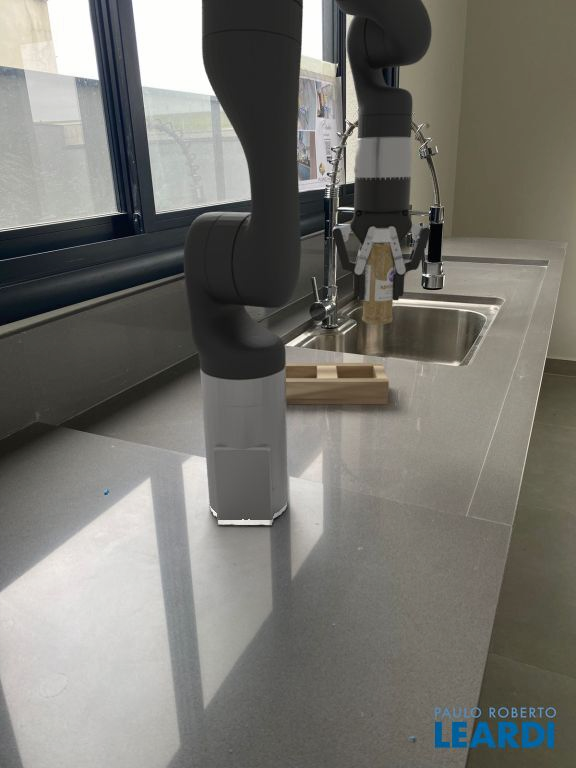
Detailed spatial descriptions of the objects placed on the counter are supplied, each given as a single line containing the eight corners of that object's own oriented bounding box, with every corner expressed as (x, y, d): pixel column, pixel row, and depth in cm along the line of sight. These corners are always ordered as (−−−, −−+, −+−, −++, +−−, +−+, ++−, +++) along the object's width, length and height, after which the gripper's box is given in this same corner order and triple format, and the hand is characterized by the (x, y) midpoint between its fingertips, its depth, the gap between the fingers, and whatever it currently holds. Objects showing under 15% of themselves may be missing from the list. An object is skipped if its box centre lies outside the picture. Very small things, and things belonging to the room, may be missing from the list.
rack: (387, 404, 100) (388, 381, 99) (267, 404, 101) (267, 381, 100) (381, 383, 110) (382, 362, 108) (271, 383, 111) (270, 363, 109)
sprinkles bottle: (389, 326, 86) (393, 228, 81) (358, 323, 87) (360, 228, 83) (395, 318, 90) (400, 225, 85) (365, 316, 91) (368, 225, 87)
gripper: (330, 175, 78) (329, 305, 84) (441, 174, 78) (432, 305, 84) (329, 174, 86) (328, 294, 91) (431, 173, 85) (423, 294, 91)
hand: (378, 298), depth 87 cm, fingers closed on sprinkles bottle, 4 cm apart
